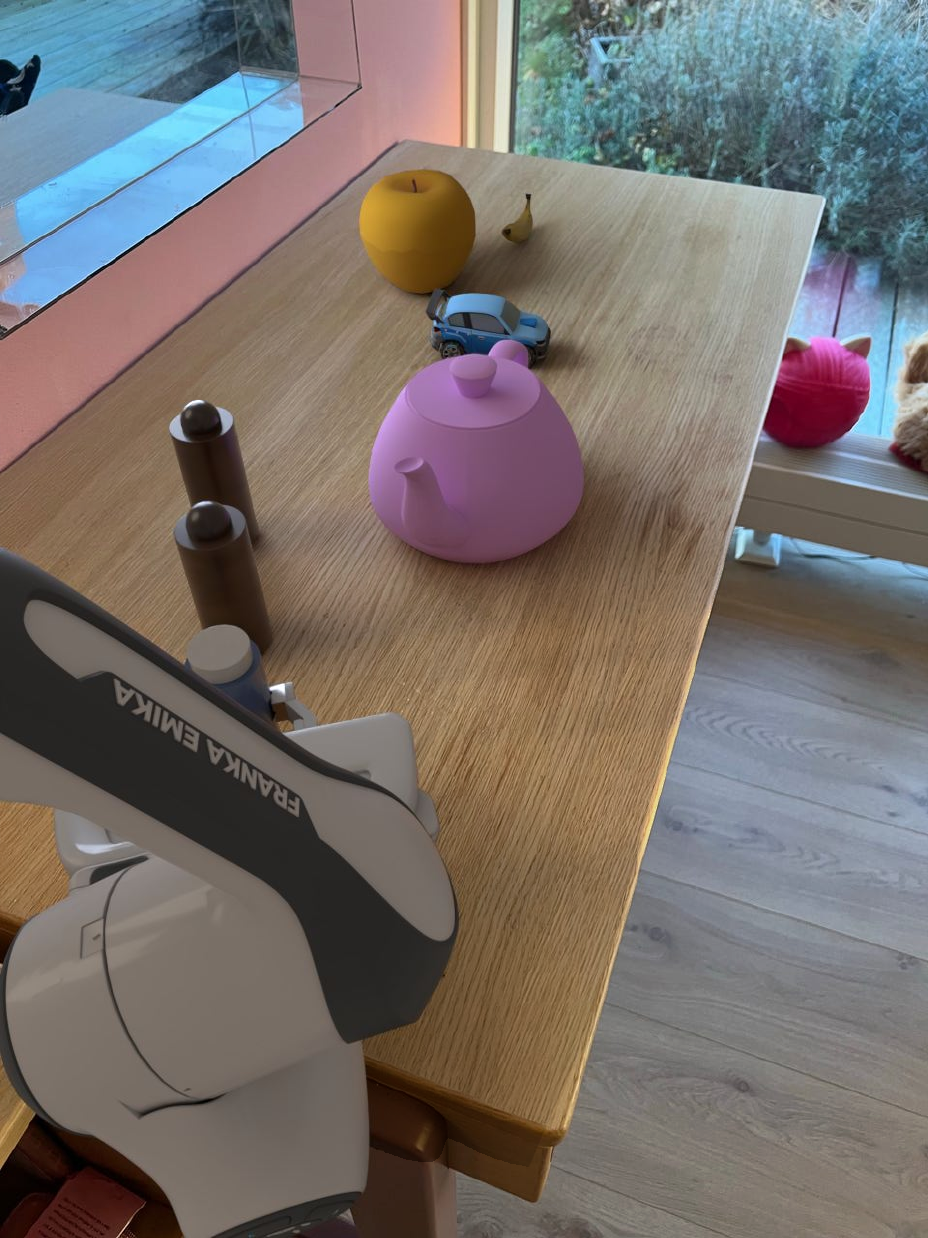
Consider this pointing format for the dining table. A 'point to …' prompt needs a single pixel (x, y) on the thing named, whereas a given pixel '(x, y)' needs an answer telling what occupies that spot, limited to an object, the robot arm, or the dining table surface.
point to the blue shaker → (232, 668)
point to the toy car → (484, 325)
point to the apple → (418, 229)
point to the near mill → (223, 570)
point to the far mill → (212, 459)
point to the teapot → (476, 460)
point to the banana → (520, 225)
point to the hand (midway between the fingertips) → (235, 698)
